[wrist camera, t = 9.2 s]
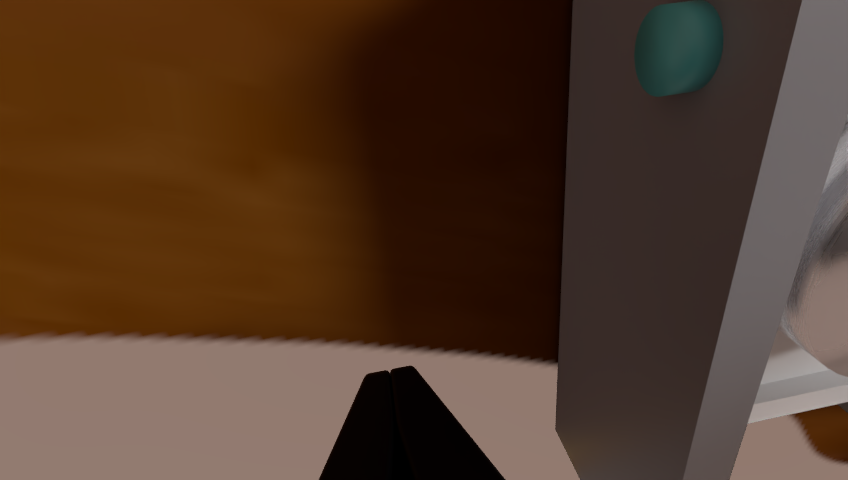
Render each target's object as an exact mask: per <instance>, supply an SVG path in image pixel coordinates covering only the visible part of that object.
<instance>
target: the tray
mask: <svg viewBox="0 0 848 480" xmlns="http://www.w3.org/2000/svg"><path fill="white" fill-rule="evenodd" d="M847 114H848V0H573V9H572V34H571V59H570V83H569V108H568V132H567V157H566V182H565V206H564V231H563V256H562V280H561V305H560V330H559V354H558V380H557V405H556V428H555V429H556V432H557V433H558V436H559V438H560V440H561V442H562V444H563V446H564V448H565V450H566V452H567V454H568V456H569V458H570V460H571V462H572V464H573V466H574V468H575V470H576V472H577V474H578V476H579V478H580V480H729V479H730V476H731V473H732V470H733V467H734V464H735V461H736V457H737V454H738V451H739V448H740V445H741V442H742V439H743V436H744V432H745V430H746V427H747V424H749V423H753V422H758V421H762V420H767V419H772V418H776V417H781V416H785V415H790V414H795V413H799V412H804V411H808V410H813V409H817V408H822V407H827V406H831V405H836V404H840V403H845V402H848V377H845V376H842V375H839V374H837V373H835V372H833V371H832V370H830V369H828V368H827V367H826V366H824V365H823V364H822V363H820V362H819V361H818V360H817V359H815V358H814V357H813V356H811V355H810V354H809V353H808V352H806V351H805V350H804V349H802V348H801V347H800V346H799V345H797V344H796V343H795V342H794V341H792V340H791V339H790V338H788V337H787V336H786V335H785V334H783V333H782V332H781V331H779V330H778V328H779V324H780V321H781V318H782V315H783V312H784V309H785V306H786V303H787V300H788V297H789V294H790V290H791V287H792V284H793V281H794V278H795V275H796V272H797V269H798V266H799V263H800V259H801V256H802V253H803V250H804V247H805V244H806V241H807V238H808V235H809V232H810V229H811V225H812V222H813V219H814V216H815V213H816V210H817V207H818V204H819V201H820V198H821V195H822V191H823V188H824V185H825V182H826V179H827V176H828V173H829V170H830V167H831V164H832V160H833V157H834V154H835V151H836V148H837V145H838V142H839V139H840V136H841V133H842V130H843V126H844V123H845V120H846V117H847Z"/></svg>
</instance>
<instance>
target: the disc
mask: <svg viewBox="0 0 848 480" xmlns="http://www.w3.org/2000/svg"><path fill="white" fill-rule="evenodd" d="M778 330H779V331H781V332H782V333H783V334H785V335H786V336H787V337H788V338H790V339H791V340H792V341H794V342H795V343H796V344H797V345H799V346H800V347H801V348H802V349H804V350H805V351H806V352H808V353H809V354H810V355H811V356H813V357H814V358H815V359H817V360H818V361H819V362H820V363H822V364H823V365H824V366H826V367H827V368H828V369H830V370H832V371H833V372H835V373H837V374H839V375H842V376H845V377H848V114H847V117H846V120H845V123H844V126H843V130H842V133H841V136H840V139H839V142H838V145H837V148H836V151H835V154H834V157H833V160H832V164H831V167H830V170H829V173H828V176H827V179H826V182H825V185H824V188H823V191H822V195H821V198H820V201H819V204H818V207H817V210H816V213H815V216H814V219H813V222H812V225H811V229H810V232H809V235H808V238H807V241H806V244H805V247H804V250H803V253H802V256H801V259H800V263H799V266H798V269H797V272H796V275H795V278H794V281H793V284H792V287H791V290H790V294H789V297H788V300H787V303H786V306H785V309H784V312H783V315H782V318H781V321H780V324H779V328H778Z"/></svg>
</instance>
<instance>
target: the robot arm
mask: <svg viewBox="0 0 848 480" xmlns="http://www.w3.org/2000/svg"><path fill="white" fill-rule="evenodd" d="M319 480H505V479H504V477H503V476H502V475H501V474H500V473H499V471H498V470H497V469H496V468H495V466H494V465H493V464H492V463H491V462H490V460H489V459H488V458H487V457H486V455H485V454H484V453H483V452H482V450H481V449H480V448H479V447H478V445H477V444H476V443H475V442H474V440H473V439H472V438H471V437H470V435H469V434H468V433H467V432H466V430H465V429H464V428H463V427H462V426H461V424H460V423H459V422H458V421H457V419H456V418H455V417H454V416H453V414H452V413H451V412H450V411H449V409H448V408H447V407H446V406H445V405H444V403H443V402H442V401H441V400H440V398H439V397H438V396H437V395H436V393H435V392H434V391H433V390H432V388H431V387H430V386H429V385H428V384H427V382H426V381H425V380H424V379H423V378H422V376H421V375H420V374H419V372H418V371H417V370H416V369H415V368H414V367H413V366H406V367H401V368H395V369H392V370H391V372H390V373H389V372H388V371H386V370H385V371H380V372H374V373H369V374H367V375H366V376H365V378H364V379H363V382H362V384H361V386H360V388H359V391H358V393H357V395H356V397H355V400H354V402H353V404H352V407H351V409H350V411H349V413H348V415H347V418H346V420H345V422H344V424H343V427H342V429H341V431H340V433H339V436H338V438H337V440H336V442H335V445H334V447H333V449H332V451H331V454H330V456H329V458H328V460H327V463H326V465H325V467H324V469H323V471H322V474H321V476H320V478H319Z"/></svg>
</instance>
